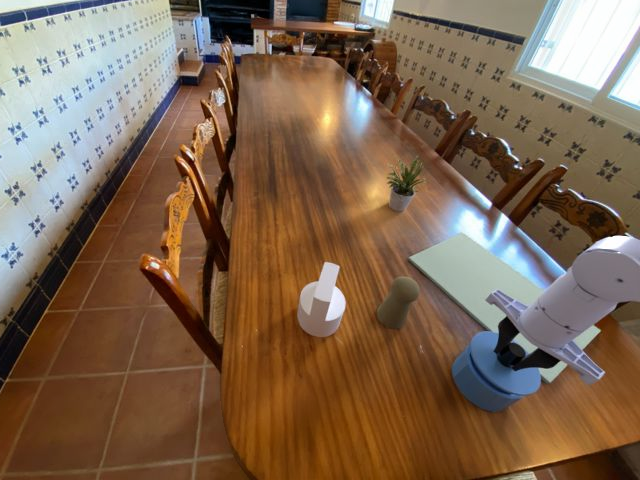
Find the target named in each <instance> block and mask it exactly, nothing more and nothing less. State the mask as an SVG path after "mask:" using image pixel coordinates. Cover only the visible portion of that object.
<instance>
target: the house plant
mask: <svg viewBox="0 0 640 480" xmlns="http://www.w3.org/2000/svg"><path fill="white" fill-rule="evenodd" d="M392 155H393V156H394V157H395V158H396V159H397V161H398V163H399V167H400V170H399V169H398V167H397V166H395V165H394V164H389V163H386V165H387V166H389V168H390V169H391V170H392V172H390V173H387V175H388V176H386V177H385V180H388V182H386V185H387V184H388V185H390V186H389V187H388V188H389V189H390V193H389V201H388V207H389V208H390V209H391V210H393V211H395V212H404V211H405V210H406V209H407V207H408V206H409V205H410V203H411V201H412V200H413V198H414V197H415V195H419V191H418V190H415V188H416V185H419V184H424V183H425V184H429V182H428V181H427V179H426V178H425V177H427V176H429V175H431V173H430V174H426V175H424V176H422V177H420V178H418V179H416V178H417V177H418V176H419V175H420V174H421V172H422V171H423V169H424V167H425V164H423V162H422V161H421V159H420V160H418V159H419V154H417V155H416V156H415V157H414V159H413V161H412V163H411V165H410V166H409V168H408V166H407V165H404V163H403V161H402V160H401V159H400V158H399V157H398V156H397V155H395V154H393V153H392ZM420 162H421V163H420ZM419 163H420V164H419ZM417 166H418V167H417ZM416 167H417V168H416ZM415 169H416V170H415ZM414 170H415V171H414ZM413 172H414V173H413ZM392 176H393V177H392ZM400 176H401V177H400ZM422 179H424V180H422Z"/></svg>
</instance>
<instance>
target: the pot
mask: <svg viewBox="0 0 640 480" xmlns="http://www.w3.org/2000/svg"><path fill="white" fill-rule="evenodd" d="M470 344H471V343H469V344H468V345H467V346H465V348H464V349H463V350H462V351H461V353H459V354H458V355H457V356H456V358H455V359H454V361H453V363H452V366H451V374H452V378H453V381H454V383H455V385H456V387H457V389H458V390H459V392H460V393H461V394H462V395H463V396H464V398H465V399H467V400H468V401H469V402H470V403H471V404H473V405H474V406H476V407H478V408H480V409H481V410H484V411H486V412H493V413H495V412H501V411H504V410H506V409H508V408H509V407H511V406H512V405H514V404H515V403H517V402H519V401H520V400H522V399H523V398H524V397H525V396H519V395H514V394H511V393H508V392H506V391H504V390H502V389H500V388H498V387H497V386H495V385H494V384H493V383H491V382H490V381H489V380H488V379H487V378H486V377H485V376H484V375H483V374H482V373H481V372H480V370H479V369H478V368H477V366H476V365H475V363H474V361H473V358H472V356H471V352H470Z"/></svg>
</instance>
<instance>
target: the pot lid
mask: <svg viewBox="0 0 640 480" xmlns="http://www.w3.org/2000/svg"><path fill="white" fill-rule="evenodd" d="M498 336H499V333H496V332H491V331H487V330H485V331H481V332H478V333H476V334H475V335H473V337H472V339H471V342H470V343H469V344H470V352H471V356H472V358H473V361H474V363H475V365H476V366H477V368H478V369H479V370H480V372H481V373H482V374H483V375H484V376H485V377H486V378H487V379H488V380H489V381H490V382H491V383H493V384H494V385H495V386H497V387H498V388H500V389H502V390H504V391H506V392H508V393H511V394H514V395H519V396H524V397H525V396H526V397H527V396H530V395H533V394H535V393H536V392H537V391H538V390H539V389H540V387H541V383H542V379H541V376H540V372H539V369H538V368H525V369H521V370H518V371H514V370H513V369H512V368H511V367H513V366H514V365H515V364H516V363H518V362H519V361H520V360H521V359H523V358H524V357H525V356H527V355H528V354H529V353H528V352H527V351H526V350H525V349H524V348H523V347H522V346H520V345H519V344H518V343H517V342H515V341H514V340H512V341H511V343H509V344H508V345H507V346H506V347H505V348H504V349H503V350H502V351H501V352H500V353H499V354H496V353H495V352H494V349H495V347H496V345H497V342H498Z"/></svg>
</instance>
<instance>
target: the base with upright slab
mask: <svg viewBox="0 0 640 480" xmlns="http://www.w3.org/2000/svg"><path fill="white" fill-rule="evenodd" d="M339 272H340V265H338V264H336V263H333V262H327V261H324V263H323V266H322V269H321V272H320V276H319V278H318V281H313V282H310V283H307V284H306V285H305V286H304V287H303V288H302V290H301V292H300V296H299V300H298V307H297V312H296V313H297V314H296V317H297V322H298V325H299V326H300V328H301V329H302V330H303V331H304V332H305V333H307V334H309V335H310V336H312V337H317V338H326V337H330V336H332V335H334V334H335V333H336V332H337V330H338V329H339V328H340V325H341V321H342V319H343V316H344V312H345V310H346V302H347V301H346V298H345V295H344V293H343V292H342V291H341V289H340V288H338V287H337V286H336V283H337V279H338V275H339Z"/></svg>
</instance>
